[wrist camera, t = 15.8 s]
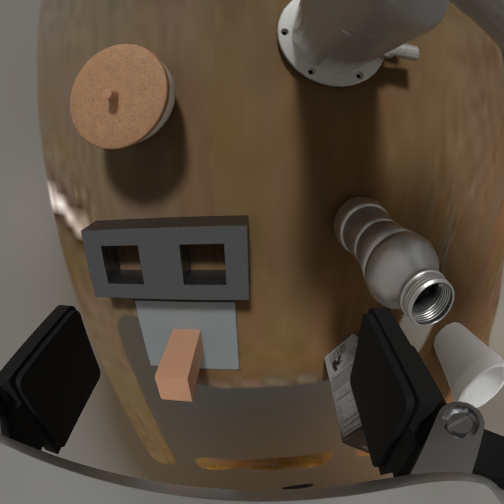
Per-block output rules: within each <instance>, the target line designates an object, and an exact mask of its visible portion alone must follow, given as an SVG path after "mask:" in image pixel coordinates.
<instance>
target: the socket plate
mask: <svg viewBox="0 0 504 504" xmlns="http://www.w3.org/2000/svg"><path fill="white" fill-rule="evenodd" d="M81 234H82V239H83V244H84V249H85V254H86V259H87V263H88V268H89V272H90V276H91V280H92V284H93V288H94V292H95V296H96V297H113V298H139V299H177V300H249V291H250V268H249V231H248V215H247V216H203V217H172V218H147V219H126V220H107V221H95V222H94V223H92V224H90V225H89V226H87V227H86V228H84V229H83V230H82V231H81ZM188 244H224V250H225V267H226V270H191V269H190V260H189V250H188ZM124 245H138V250H139V257H140V263H141V269H142V270H120V266H119V261H118V256H117V250H116V246H124Z"/></svg>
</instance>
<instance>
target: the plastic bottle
mask: <svg viewBox="0 0 504 504" xmlns="http://www.w3.org/2000/svg"><path fill="white" fill-rule="evenodd" d="M334 231H335V236H336V238H337V241H338V242H339V243H340V245H341V246H342V247H343V248H345V249H346V250H347V251H348V252H350V253H351V254H352V255H353V256H354V257H355V258H356V259H357V261H358V263H359V265H360V267H361V269H362V272H363V275H364V278H365V282H366V285H367V288H368V290H369V292H370V294H371V295H372V297H373V298H374V299H375V300H376V301H377V302H379V303H380V304H382V305H384V306H386V307H387V308H391V309H401V310H402V311H403V312H404V313H405V314H406V315H407V316H408V317H409V318H410V320H411V321H412V322H413V323H414V324H416V325H417V326H420V327H427V326H431V325H434V324H436V323H437V322H439V321H440V320H442V319H443V318H444V317H445V316H446V315H447V313H448V312H449V311H450V309H451V307H452V305H453V302H454V295H455V294H454V289H453V287H452V285H451V284H450V283H449V282H448V281H447V280H446V279H445V277H444V276H443V274H442V273H440V272H439V260H438V256H437V254H436V251H435V249H434V247H433V245H432V244H431V243H430V241H429V240H427V239H426V238H425V237H423V236H421V235H420V234H418V233H415V232H413V231H411V230H408V229H406V228H404V227H402V226H401V225H399V224H398V223H396V222H394V221H393V219H392V218H391V217H390V216H389V214H388V212H387V211H386V209H385V208H384V207H383V206H382V205H381V204H380V203H379V202H378V201H376V200H374V199H372V198H367V197H355V198H352V199H350V200H348V201H346V202H345V203H344V204H343V205H342V206H341V207H340V208H339V209H338V211H337V213H336V215H335V219H334Z"/></svg>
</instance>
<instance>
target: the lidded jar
mask: <svg viewBox="0 0 504 504" xmlns="http://www.w3.org/2000/svg"><path fill="white" fill-rule="evenodd" d="M174 102H175V85H174V81H173V78H172V75H171V73H170V72H169V70H168V68H167V67H166V66H165V64H164V63H163V62H162V61H161V60H160V59H159V58H158V57H157V56H156V55H154V54H153V53H152V52H151V51H149V50H147V49H145V48H144V47H141V46H138V45H133V44H120V45H115V46H111V47H109V48H106V49H104V50H102V51H100V52H99V53H97V54H96V55H95V56H93V57H92V58H91V59H90V60H89V61H88V62H87V63H86V64H85V65H84V67H83V68H82V69H81V71H80V72H79V74H78V76H77V78H76V80H75V82H74V85H73V88H72V92H71V98H70V110H71V116H72V120H73V123H74V125H75V127H76V129H77V131H78V132H79V134H80V135H81V136H82V137H83V138H84V139H85V140H86V141H88V142H89V143H90V144H92V145H94V146H96V147H99V148H103V149H121V148H125V147H129V146H131V145H133V144H137V143H139V142H142V141H144V140H146V139H148V138H149V137H151V136H153V135H154V134H155V133H156V132H157V131H159V129H160V128H161V127H162V126H163V125H164V124H165V123H166V121H167V120H168V118H169V116H170V114H171V112H172V109H173V106H174Z"/></svg>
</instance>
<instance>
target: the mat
mask: <svg viewBox="0 0 504 504" xmlns="http://www.w3.org/2000/svg"><path fill="white" fill-rule="evenodd" d="M135 303H136V308H137V312H138V317H139V321H140V325H141V329H142V333H143V337H144V341H145V345H146V349H147V353H148V356H149V360H150V364H151V365H155V366H159V364H160V361H161V359H162V356H163V353H164V351H165V348H166V346H167V343H168V340H169V338H170V335H171V333H172V330H173V329H192V330H201V337H202V344H203V351H204V352H203V356H202V361H201V365H200V368H203V369H239V357H238V341H237V324H236V307H235V301H183V300H143V299H136V300H135Z"/></svg>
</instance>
